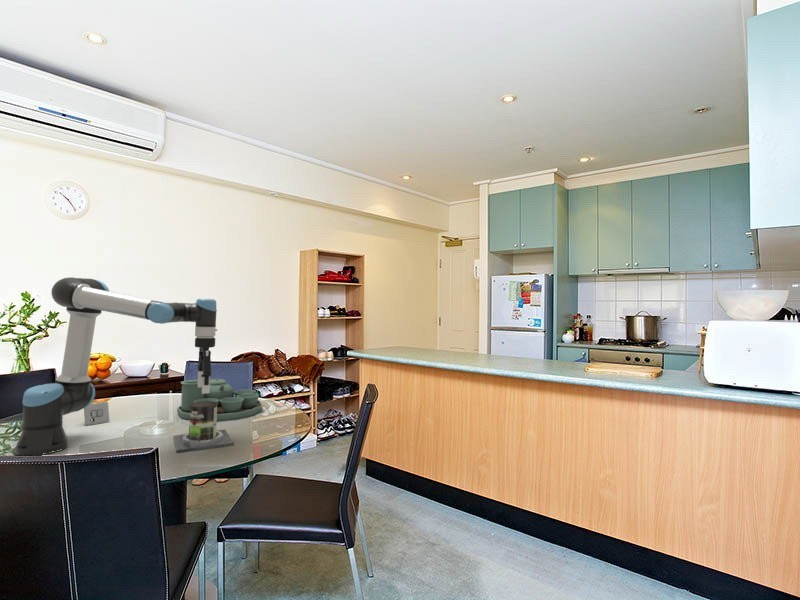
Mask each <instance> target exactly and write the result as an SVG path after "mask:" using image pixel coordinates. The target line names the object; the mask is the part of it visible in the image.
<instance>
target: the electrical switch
mask: <svg viewBox="0 0 800 600" xmlns="http://www.w3.org/2000/svg"><path fill="white" fill-rule="evenodd" d="M83 415H84V425H85V426H93V424H94V425H98V424H99V423H100V424H103V423H104V424H105V422H106V423H109V422H110V412H109V402H108V401H103V402H93V403H91V404H90V405H88V406H87V407H85V408H83Z"/></svg>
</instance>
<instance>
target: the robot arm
mask: <svg viewBox="0 0 800 600" xmlns="http://www.w3.org/2000/svg"><path fill="white" fill-rule="evenodd" d="M51 298H52V299H53V301H54V302H55V303H56V304H57V305H59V306H61V307H64V308H66V309H65V310H66V312H67V314H69V320H68V322H69V323H68V328H67V334H66V341H65V348H64V354H63V361H62V367H61V373H60V375H58V376H57V377H55V381H54V383H52V382H51V383H45V384H44V383H43V384H39V385H35V386H33V387H29V388H28V389H26V390H25V391H24V392H23V396H22V397H23V398H22V427H21V428H22V430H21V433H20V436H19V438H18V440H17V443H16V445H15V451H14V454H15V456H16V455H17V456H19V455H37V456H42V455H43V456H44V455H45V454H43V453H49V452H52V451H57V450H60V449H63V450H65V449H66V448H68V446H69V445H68V443H69V442H68V441H69V440H68V437H67V435H66V433H65V430H64V427H63V419H64V418H63V416H65V415H69V414H71V413H75V412H79V411H81V410H84V408H85V407H87V406H88V405H90V404H92V402H94V399H95V397H96V388H95V387H94V384H93V383H92V378H91V377H90V376H89V375H88V372H89V365H90V360H91V359H90V358H91V353H92V347H93V340H94V334H95V326H96V319H97V317H98V316H100V315H101V314H102V311H103V312H108V313H111V314H118V315H123V316H127V317H132V318H137V319H143V320H147V321H150V322H152V323H154V324H161V325H162V324H168V323H169V324H170V323H179V322H180V323H183V322H184V323H190V322H191V323H195V328H194V329H195V330H194V336H195V339H194V346H195V348H199V349H198V363H197V370H198V371H197V380H198V387H202V394H205V393H210V380H211V376H212V363H211V361H212V359H211V358H212V357H211V354H212V351H211V350H210V348H214V347H216V338H215V337H216V332H217V331H218V329H217V311H218V309H217V300H216V299H214V298H197V299H196V300H195V301H196V302H194V303H187V302H176V301H175V302H163V301H159V300H152V299H148V298H144V297H138V296H133V295H128V294H125V293H119V292H113V291H110V289H109V287H108V286H107V284H105V283H104V282H103V281H101V280H97V279H94V278H85V277H84V278H83V277H69V276H68V277H64V278H62V279H59V280H57V281H55V283H54V284H53V286H52V288H51ZM64 448H65V449H64ZM60 451H61V450H60ZM57 452H58V451H57ZM49 454H50V453H49Z"/></svg>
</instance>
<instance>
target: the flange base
mask: <svg viewBox="0 0 800 600" xmlns="http://www.w3.org/2000/svg"><path fill="white" fill-rule="evenodd" d="M172 439H173V444H174V447H175V450H176V453H185V452H193V451H199V450H208V449H215V448H221V447H223V448H224V447H229V446H234V444H235V441H234V440H233V439H232V437H231V436H230V434H228V431H226V429H217V430H216V437H214V438H211V439H204V440H191V439H189V432H188V433H185V434H177V435H176V434H175V435H172Z"/></svg>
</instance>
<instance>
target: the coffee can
mask: <svg viewBox="0 0 800 600" xmlns="http://www.w3.org/2000/svg"><path fill="white" fill-rule="evenodd" d="M217 405H218V403H217V402H212V401H202V402H195V403H192V404H190V420H189V421H188V422H189V427H188V429H189V430H188V433H189V439H191V440H204V439H211V438H214V437H216V431H217V426H218V425H217V423H218V421H217Z"/></svg>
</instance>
